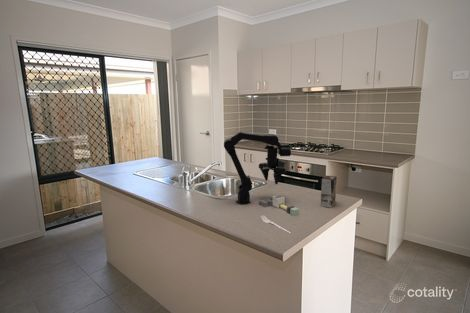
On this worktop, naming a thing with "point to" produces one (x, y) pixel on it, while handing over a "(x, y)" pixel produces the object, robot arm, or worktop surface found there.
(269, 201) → the cord rig
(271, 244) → the worktop surface
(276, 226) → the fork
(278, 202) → the grey block
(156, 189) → the worktop surface
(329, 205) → the coffee box
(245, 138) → the robot arm
